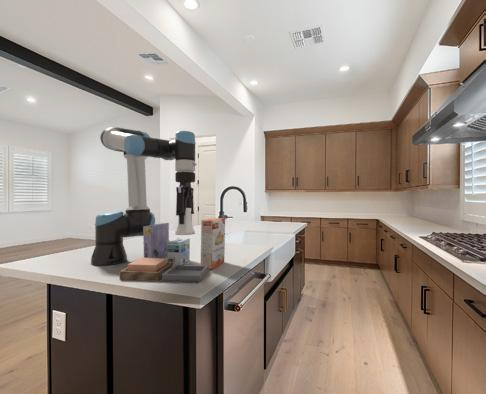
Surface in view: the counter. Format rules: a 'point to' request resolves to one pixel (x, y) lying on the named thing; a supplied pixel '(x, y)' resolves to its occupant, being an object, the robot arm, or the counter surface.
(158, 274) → the wooden square frame
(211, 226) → the cracker box
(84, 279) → the counter surface
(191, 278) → the tray
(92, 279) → the counter surface
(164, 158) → the robot arm
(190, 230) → the vase
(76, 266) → the counter surface
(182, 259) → the light bulb box
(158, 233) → the cake pan box
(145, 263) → the orange square slab
